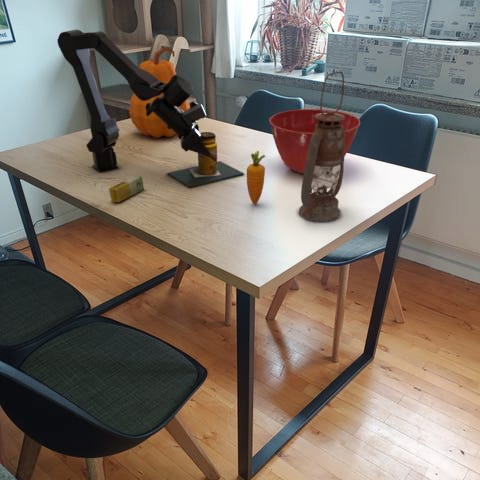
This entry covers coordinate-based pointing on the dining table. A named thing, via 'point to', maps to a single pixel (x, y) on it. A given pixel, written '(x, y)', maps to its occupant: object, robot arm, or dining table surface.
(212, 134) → the condiment
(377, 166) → the dining table surface
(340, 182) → the lantern
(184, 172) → the placemat
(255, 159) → the carrot
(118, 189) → the medication box
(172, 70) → the decorative pumpkin
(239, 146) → the dining table surface
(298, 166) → the mixing bowl
